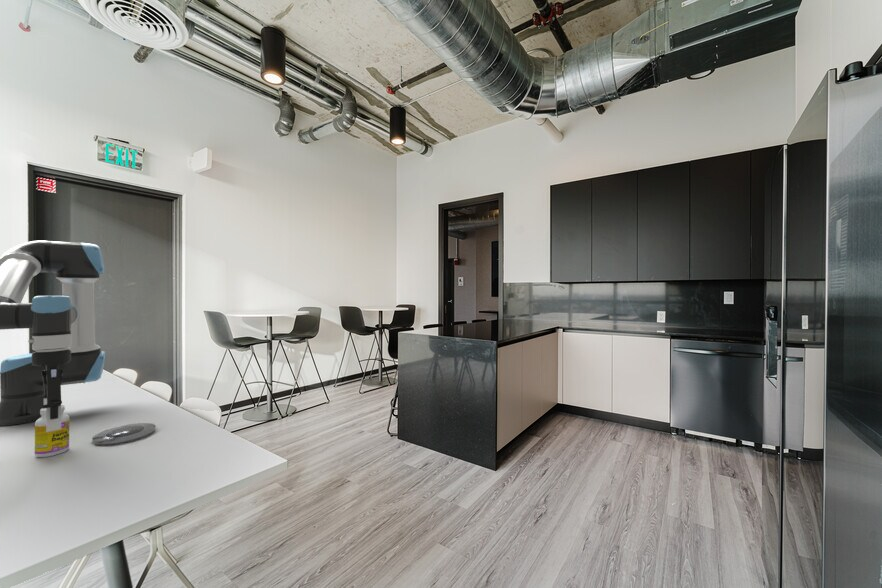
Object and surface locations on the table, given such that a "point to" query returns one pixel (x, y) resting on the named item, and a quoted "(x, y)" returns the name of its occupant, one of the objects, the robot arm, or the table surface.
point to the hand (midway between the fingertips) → (52, 425)
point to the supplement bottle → (51, 436)
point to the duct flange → (123, 434)
